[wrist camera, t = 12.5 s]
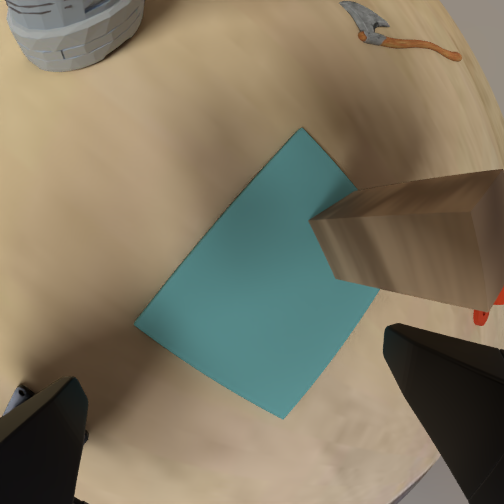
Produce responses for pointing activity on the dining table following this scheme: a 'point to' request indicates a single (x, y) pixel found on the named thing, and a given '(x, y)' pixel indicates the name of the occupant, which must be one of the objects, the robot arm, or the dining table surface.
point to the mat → (263, 286)
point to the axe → (367, 34)
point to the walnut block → (421, 238)
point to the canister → (72, 30)
